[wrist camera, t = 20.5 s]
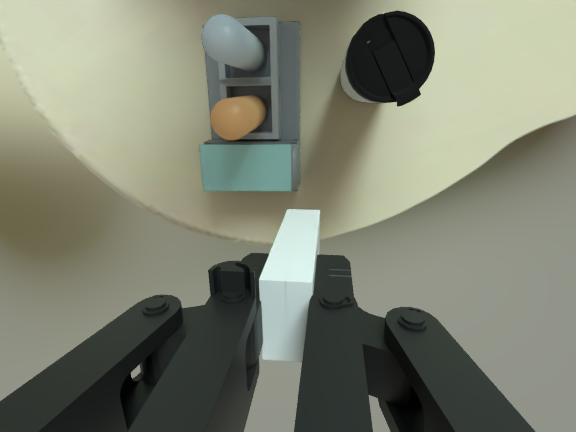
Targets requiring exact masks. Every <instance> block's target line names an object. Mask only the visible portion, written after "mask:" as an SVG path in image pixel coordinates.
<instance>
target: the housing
mask: <svg viewBox="0 0 576 432" xmlns="http://www.w3.org/2000/svg"><path fill="white" fill-rule="evenodd" d="M234 19H236V20H237V21H238V22H239V23H240V24H242V25H243V26H244V27H245V28H246V29H248V30H249V31H250V32H251V33H252V34H254V35H255V36H256V37H257V38H258V39H260V40H261V41H262V42H263V43H264V45H265V47H266V50H267V60H266V63H265V65H264V66H263V67H262V68H261V69H260V70H258V71H256V72H248V71H245V70H242V69H239V68H236V67H233V66H230V65H227V64H224V63H221V62H218V61H216V60H214V59H212V58H211V57H210V56H209V55H208V54H207V53H206V51H205V58H206V70H207V82H208V94H209V107H210V117H211V111H212V109H213V107H214V106H215V104H216V103H217V102H219V101H220V100H223V99H227V98H233V97H239V96H246V95H258V96H260V97H261V98H263V99H264V100H265V102H266V103H267V106H268V117H267V119H266V120H265V122H264V123H263V124H261V125H260V126H258V127H257V128H255V129H254V130H252V131H251V132H249V133H248V134H246V135H245V136H243V137H241V138H240V139H237V140H226V139H224V138H222V137H220V136H219V135H218V134H217V133H216V132H215V131H214V129H213V127H212V124H211V131H212V140H209V141H206V142H204V144H298V187H299V184H300V22H299V21H292V22H279V20H278V18H277V17H276V16H273V17H250V18H234ZM203 28H204V25H203ZM210 119H211V118H210Z"/></svg>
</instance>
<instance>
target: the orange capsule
mask: <svg viewBox="0 0 576 432" xmlns="http://www.w3.org/2000/svg"><path fill="white" fill-rule="evenodd" d="M267 117H268V106H267V103H266V102H265V100H264V99H263V98H261V97H260V96H258V95H246V96H239V97H233V98H227V99H223V100H220V101H219V102H217V103H216V104H215V106H214V107H213V109H212V111H211V117H210V118H211V124H212V127H213V129H214V131H215V132H216V133H217V134H218V135H219V136H220V137H222V138H224V139H226V140H237V139H240V138H241V137H243V136H245V135H246V134H248V133H249V132H251V131H252V130H254V129H255V128H257V127H258V126H260V125H261V124H263V123H264V122H265V120H266V119H267Z"/></svg>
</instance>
